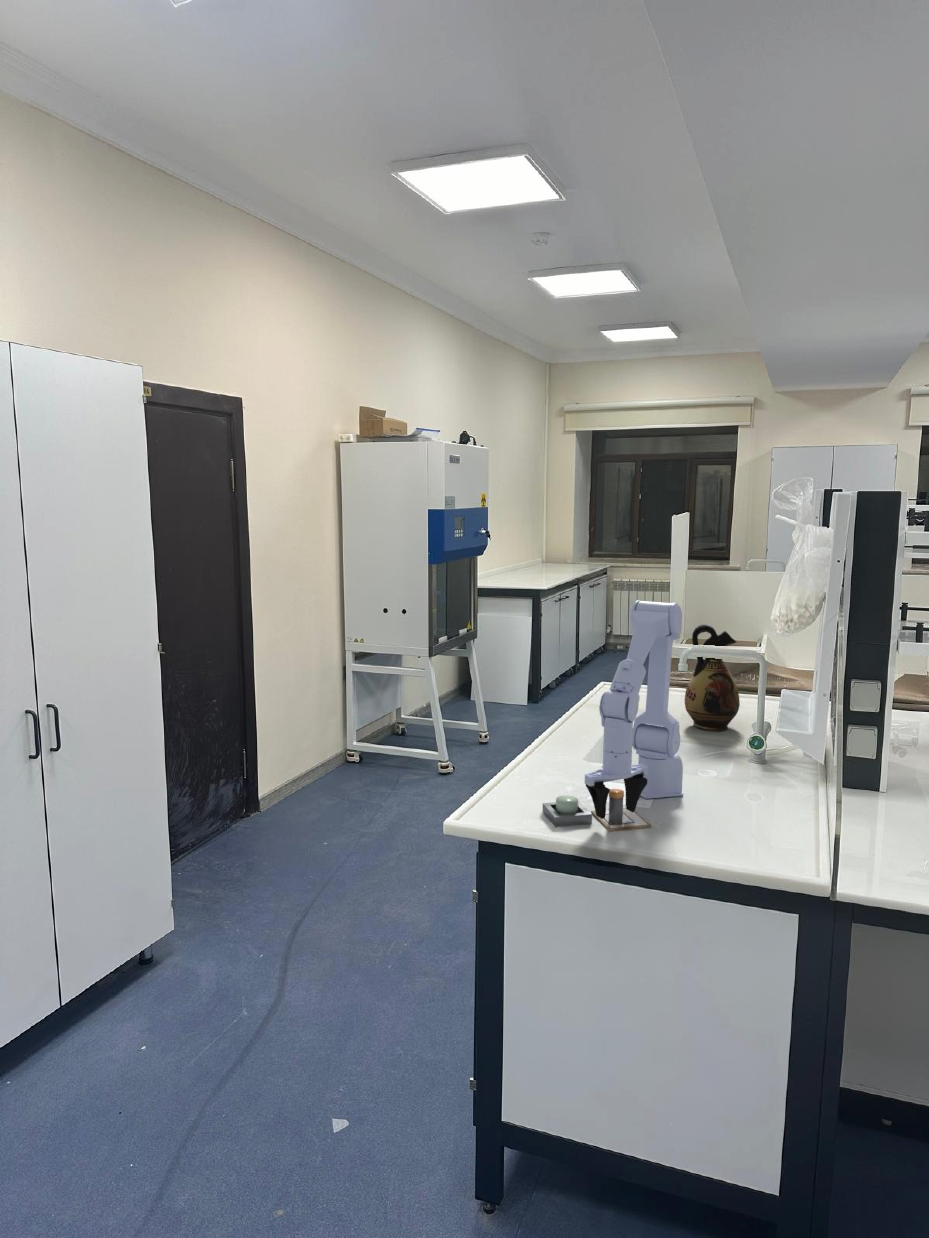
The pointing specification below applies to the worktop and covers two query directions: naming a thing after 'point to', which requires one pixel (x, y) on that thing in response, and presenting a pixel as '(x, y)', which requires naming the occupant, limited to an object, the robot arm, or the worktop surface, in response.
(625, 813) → the wooden framed board
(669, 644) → the robot arm
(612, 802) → the marker
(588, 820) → the button housing
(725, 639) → the ceramic jug
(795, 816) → the worktop surface
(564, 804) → the button
